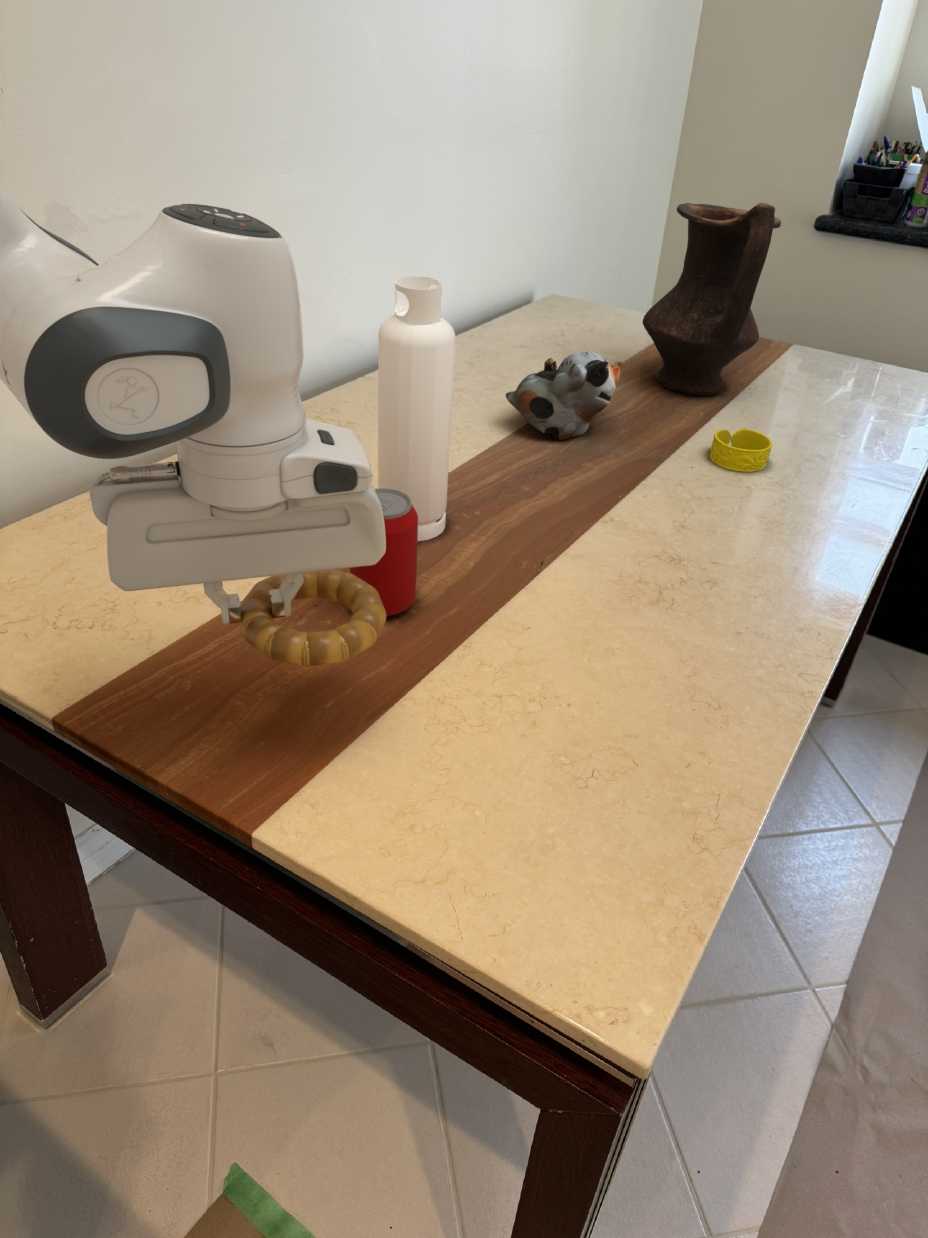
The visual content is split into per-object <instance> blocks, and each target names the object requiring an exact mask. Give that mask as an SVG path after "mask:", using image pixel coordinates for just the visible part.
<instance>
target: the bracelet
mask: <svg viewBox="0 0 928 1238" xmlns="http://www.w3.org/2000/svg"><path fill="white" fill-rule="evenodd" d="M729 444H730V445H729ZM772 447H773V441H772V440H771V439H770V437H768V436H767V435H766V434H763V433H762V432H759V431H757V430H753V429H749V428H740V429H738V430H736V431H735V432H734V433H733V434H732V435H731V432H730V430H728V429H725V428H722V429H718V430H716V431H715V432H714V434H713V439H712V443H711V446H710V453H709V459H710V460H711V461H712V462H713V463H714V464H715V465H716V466H719V467H721V468H724V469H726V470H730V471H736V472H744V473H745V472H746V473H748V472H750V473H752V472H759V471H762V470H763V469H765V468H766V466H767V462H768V460H769V457H770V455H771V450H772Z"/></svg>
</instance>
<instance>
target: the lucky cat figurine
mask: <svg viewBox="0 0 928 1238" xmlns="http://www.w3.org/2000/svg"><path fill="white" fill-rule="evenodd" d="M622 365H623V362H622V361H616V362H613V363H610V362H609V360H608V359H607V358H606V357H605V356H604V355H601V354H599V353H597V352H594V351H589V350H586V351H581V352H574V353H572V354H570V355H568V356H567V357H565V358H564V359H563V360H562V361H561V363H560V364H559V365H558V366H557V361H556V360H555V359H554V358H553V357H549V358H548V359H546V360H545V361H544V366H543V369H542V370H540V371H538V372H534V373H530V374H528V375H526V376H525V377H524V378H522V380H521V381H520V382H519V384H518V385H517V387H516V389H515V390H513V391H509V392H506V393H505V398H506V400H507V402H508V403H509V404H511V405H512V407H513V408H514V409H515V410H516V411H517V412H519V414H521V416H523V417H524V418H525V420H526V421H527V422H528V423H529V424H530V425H531V426H533V428H535V429H536V430H538V431H539V432H541V433H542V434H544V435H548V434H552V437H553V439H554V440H557V441H563V440H567V439H571V438H575V437H579V436H582V435H584V434H586V432H587V431H588V429H589V428H590V422H591V420H592V418H594V417H595V416H596V415H598V414H599V413H601V412H602V411H603V410H604V409H605V408H607V407H608V406H609V405H610V404H611V399H612V396H613V394H614V392H615V390H616V389H617V385H618V384H619V381H620V376H621V369H620V368H621V366H622Z"/></svg>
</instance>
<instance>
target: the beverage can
mask: <svg viewBox="0 0 928 1238" xmlns="http://www.w3.org/2000/svg"><path fill="white" fill-rule="evenodd" d="M374 489H375V491H376V493H377V496H378V498H379V500H380V503H381V506H382V511H383V516H384V523H385V534H386V552H385V554H384V555H383V557H382V558H381V559H380V560H379V561H378V562H377V563H376V564H375V565H370V566H360V567H351V568H349V573H352V574H354V575H355V576H357V577H358V578H360V579H362V580H363V581H365V582H366V583H368V584H369V585H371V586H373V587H374V588H375V589H376V590H377V592H378V593H379V596H380V598H381V601H382V603H383V606H384V609H385V611H386V617H389V616H390V617H391V616H394V615H397V614H401V613H404V612H405V611H407V610H408V609H409V608H411V607H412V605H413V604H414V603H415V601H416V589H417V569H418V568H417V567H418V542H419V541H418V515H417V512H416V510H415V509H414V507H413V505H412V504H411V499H410V497H409V496H408V495H406V494H405V493H403V492H401V491H398V490H394V489H388V488H378V487H377V488H374Z"/></svg>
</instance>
